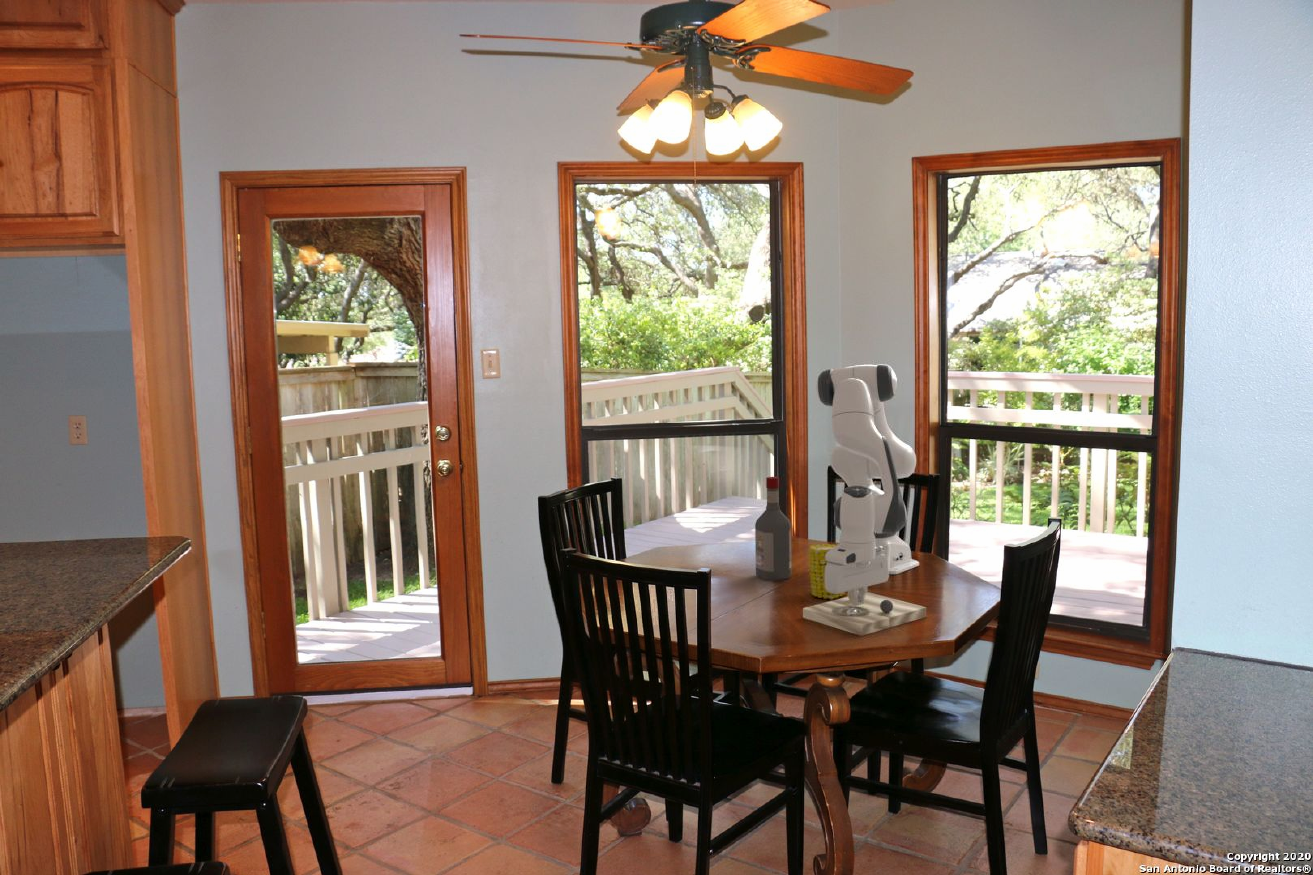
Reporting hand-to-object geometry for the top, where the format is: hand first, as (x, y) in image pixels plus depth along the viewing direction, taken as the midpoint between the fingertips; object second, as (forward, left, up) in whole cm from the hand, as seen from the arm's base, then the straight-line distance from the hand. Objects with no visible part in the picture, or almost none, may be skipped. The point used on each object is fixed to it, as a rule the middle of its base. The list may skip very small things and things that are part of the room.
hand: (857, 604), depth 257 cm
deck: (-3, 0, -4) cm, 5 cm away
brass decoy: (-6, -7, 0) cm, 9 cm away
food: (-11, -21, -4) cm, 24 cm away
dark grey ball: (-4, +6, 0) cm, 7 cm away
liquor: (-14, -46, -4) cm, 48 cm away
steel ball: (+2, 0, -2) cm, 3 cm away
